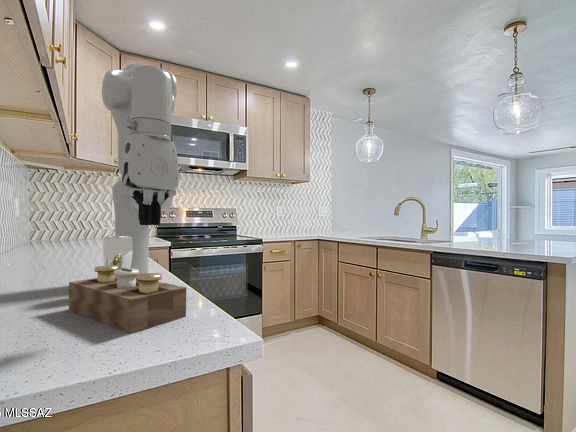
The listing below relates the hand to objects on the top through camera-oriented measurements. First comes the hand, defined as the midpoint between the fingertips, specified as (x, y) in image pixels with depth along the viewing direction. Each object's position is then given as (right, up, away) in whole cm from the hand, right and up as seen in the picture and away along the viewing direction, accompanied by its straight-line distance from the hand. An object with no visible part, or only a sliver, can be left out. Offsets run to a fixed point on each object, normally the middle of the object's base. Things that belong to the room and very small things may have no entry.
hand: (149, 224), depth 64 cm
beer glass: (-18, -19, +21) cm, 33 cm away
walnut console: (-7, -19, +4) cm, 21 cm away
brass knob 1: (-14, -16, +9) cm, 23 cm away
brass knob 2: (0, -16, 0) cm, 16 cm away
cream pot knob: (-7, -16, +4) cm, 18 cm away
